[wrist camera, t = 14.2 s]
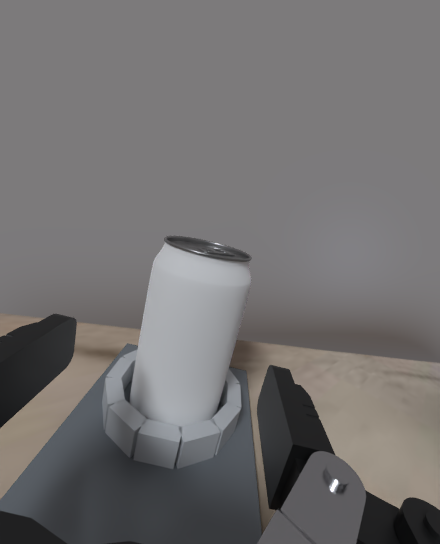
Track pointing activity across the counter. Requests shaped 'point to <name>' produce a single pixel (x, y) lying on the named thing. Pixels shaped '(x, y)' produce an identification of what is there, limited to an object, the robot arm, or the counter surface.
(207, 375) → the can
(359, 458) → the counter surface
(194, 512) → the holder
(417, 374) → the counter surface
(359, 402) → the counter surface
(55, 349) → the robot arm
